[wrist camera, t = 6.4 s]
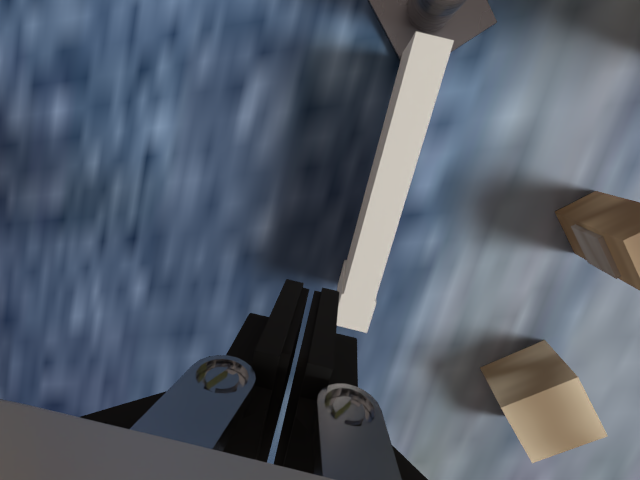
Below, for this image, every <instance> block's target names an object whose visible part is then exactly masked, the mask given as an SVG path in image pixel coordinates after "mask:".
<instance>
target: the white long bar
mask: <svg viewBox="0 0 640 480" xmlns="http://www.w3.org/2000/svg"><path fill="white" fill-rule="evenodd" d="M453 42H454V40H450V39H446V38H442V37H438V36H433V35H429V34H425V33H421V32H417V31H416V32H415V34H414V35H413V37H412V39H411V40H410V42H409V43H408V45H407V47H406V48H405V50H404V51H403V54H402V57H401V61H400V65H399V69H398V72H397V76H396V80H395V83H394V87H393V91H392V94H391V98H390V102H389V106H388V109H387V113H386V117H385V120H384V124H383V128H382V132H381V135H380V139H379V143H378V146H377V150H376V154H375V157H374V161H373V165H372V169H371V172H370V176H369V180H368V183H367V187H366V191H365V195H364V198H363V202H362V206H361V209H360V213H359V217H358V220H357V224H356V228H355V232H354V235H353V239H352V243H351V246H350V250H349V254H348V258H347V260H344V264H343V267H342V271H341V275H340V278H339V282H338V287H337V291H339V303H338V315H337V326H341V327H345V328H349V329H353V330H357V331H361V332H365V333H367V331H368V328H369V325H370V322H371V318H372V315H373V312H374V309H375V305H376V295H377V292H378V289H379V285H380V282H381V279H382V276H383V272H384V269H385V266H386V262H387V259H388V256H389V253H390V249H391V246H392V243H393V239H394V236H395V233H396V230H397V226H398V223H399V220H400V216H401V213H402V210H403V207H404V203H405V200H406V197H407V193H408V190H409V187H410V184H411V180H412V177H413V174H414V170H415V167H416V164H417V161H418V157H419V154H420V151H421V147H422V144H423V141H424V138H425V134H426V131H427V128H428V124H429V121H430V118H431V115H432V111H433V108H434V105H435V101H436V98H437V95H438V92H439V88H440V85H441V82H442V78H443V75H444V72H445V69H446V65H447V62H448V59H449V55H450V52H451V49H452V46H453Z"/></svg>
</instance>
